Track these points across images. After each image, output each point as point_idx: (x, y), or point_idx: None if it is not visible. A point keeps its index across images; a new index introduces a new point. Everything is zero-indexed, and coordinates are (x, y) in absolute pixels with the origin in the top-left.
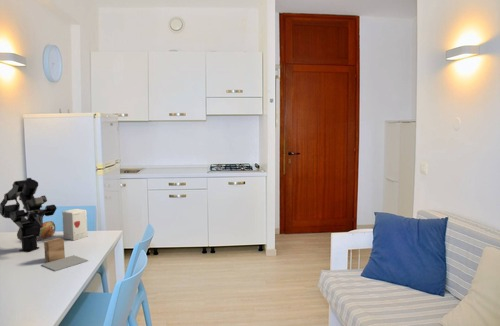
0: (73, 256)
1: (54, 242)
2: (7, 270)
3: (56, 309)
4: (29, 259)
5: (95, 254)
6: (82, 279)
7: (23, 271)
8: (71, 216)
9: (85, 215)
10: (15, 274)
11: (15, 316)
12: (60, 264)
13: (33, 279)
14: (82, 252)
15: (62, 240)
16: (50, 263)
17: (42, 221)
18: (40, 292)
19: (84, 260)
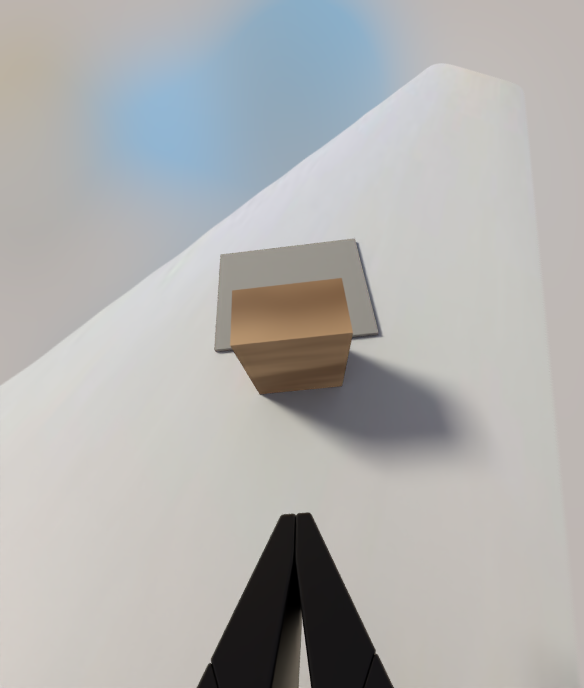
0: (226, 332)
1: (299, 287)
2: (536, 386)
3: (423, 82)
4: (405, 491)
5: (152, 304)
6: (319, 154)
7: (461, 317)
8: None
9: None
10: (497, 306)
11: (502, 90)
12: (315, 279)
13: (437, 222)
14: (158, 372)
15: (243, 292)
16: None
17: (244, 600)
18: (436, 145)
19: (230, 260)
